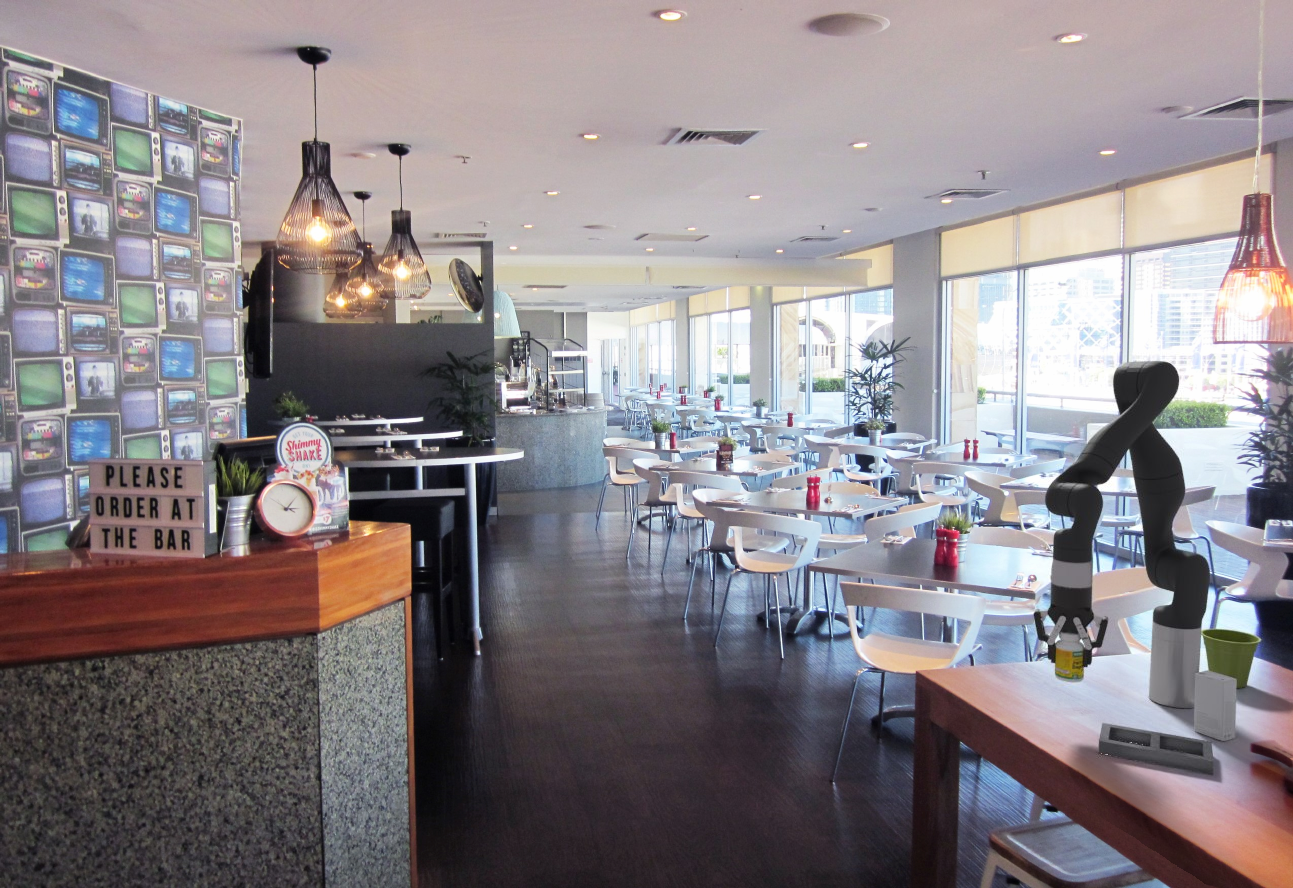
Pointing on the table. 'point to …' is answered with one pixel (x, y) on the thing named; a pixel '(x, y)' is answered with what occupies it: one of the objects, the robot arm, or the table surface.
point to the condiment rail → (1157, 748)
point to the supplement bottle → (1069, 657)
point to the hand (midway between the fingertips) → (1069, 663)
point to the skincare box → (1215, 705)
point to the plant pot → (1230, 653)
